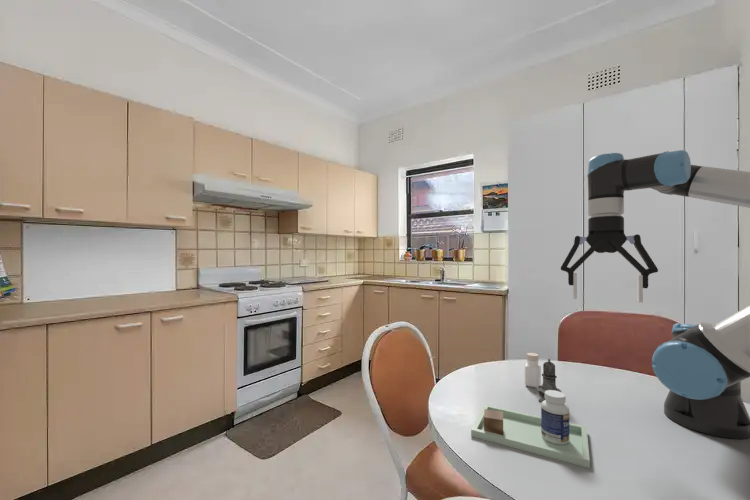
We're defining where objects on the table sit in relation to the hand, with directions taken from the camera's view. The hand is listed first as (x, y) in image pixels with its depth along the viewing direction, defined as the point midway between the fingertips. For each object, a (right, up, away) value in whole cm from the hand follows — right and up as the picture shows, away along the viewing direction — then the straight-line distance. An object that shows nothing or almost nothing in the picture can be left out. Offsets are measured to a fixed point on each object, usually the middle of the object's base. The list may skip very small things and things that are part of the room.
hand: (606, 299), depth 86 cm
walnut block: (-32, -28, -10) cm, 44 cm away
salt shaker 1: (-10, -29, +18) cm, 35 cm away
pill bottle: (-20, -28, -13) cm, 37 cm away
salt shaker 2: (-12, -29, +6) cm, 32 cm away
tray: (-25, -29, -11) cm, 40 cm away
